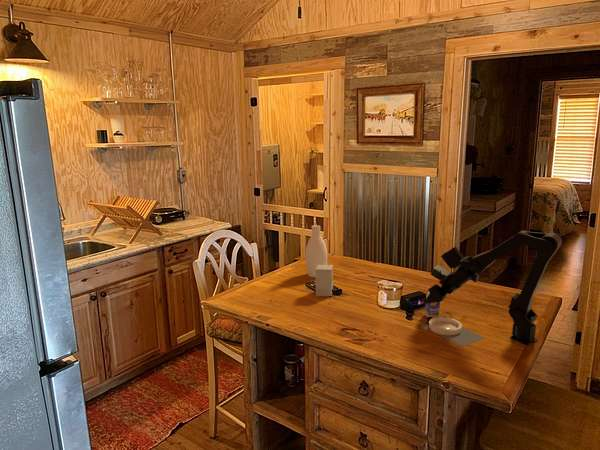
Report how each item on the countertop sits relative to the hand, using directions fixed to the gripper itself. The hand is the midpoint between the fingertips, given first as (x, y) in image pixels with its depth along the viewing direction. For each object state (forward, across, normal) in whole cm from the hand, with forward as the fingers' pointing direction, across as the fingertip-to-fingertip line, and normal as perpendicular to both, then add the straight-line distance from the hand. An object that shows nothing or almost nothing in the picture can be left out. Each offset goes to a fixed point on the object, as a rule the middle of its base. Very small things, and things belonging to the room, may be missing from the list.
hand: (429, 298), depth 184 cm
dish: (-2, +8, +12) cm, 15 cm away
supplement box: (+39, +6, -29) cm, 48 cm away
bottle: (+52, -13, -42) cm, 68 cm away
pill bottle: (+4, 0, +6) cm, 7 cm away
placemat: (-4, +9, +14) cm, 17 cm away
